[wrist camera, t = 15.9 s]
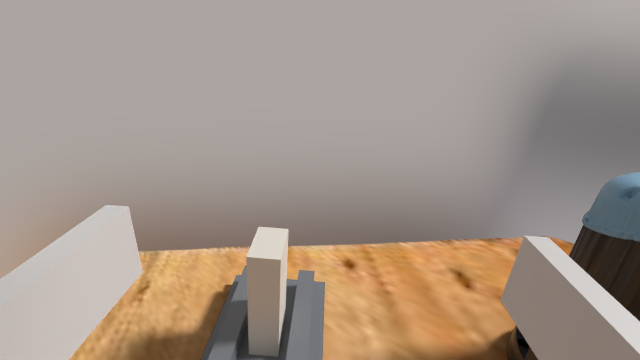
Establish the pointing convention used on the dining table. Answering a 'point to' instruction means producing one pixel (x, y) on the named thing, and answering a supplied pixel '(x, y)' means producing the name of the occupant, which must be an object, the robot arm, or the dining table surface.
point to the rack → (298, 332)
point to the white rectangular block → (267, 290)
